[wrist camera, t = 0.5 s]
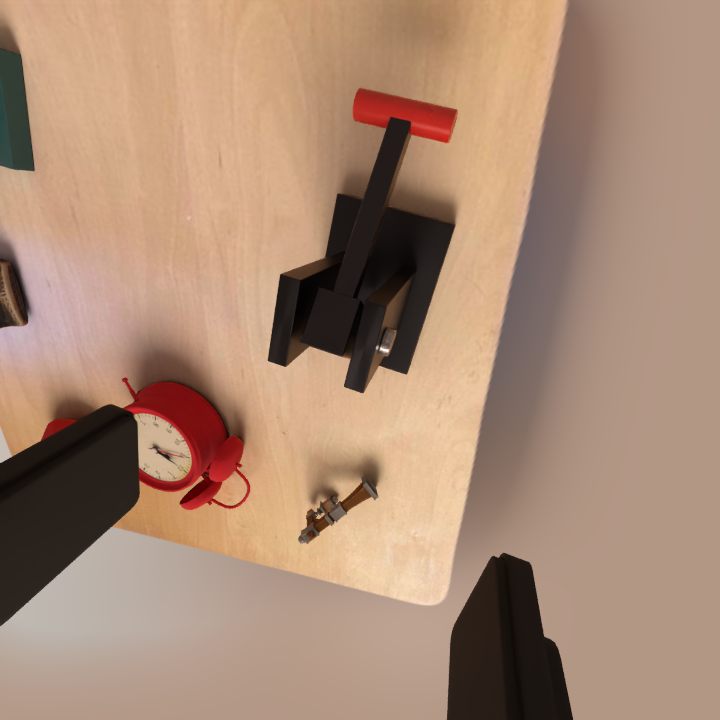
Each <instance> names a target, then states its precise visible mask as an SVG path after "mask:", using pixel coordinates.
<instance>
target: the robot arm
mask: <svg viewBox="0 0 720 720" xmlns="http://www.w3.org/2000/svg"><path fill="white" fill-rule="evenodd" d="M139 494H140V489H139V453H138V423H137V421H136V420H135V417H134V414H133V413H132V412H131V411H128V410H125V409H123V408H120V407H118V406H115V405H112V404H109V405H106V406H103V407H101V408H100V409H98V410H96V411H94V412H92V413H91V414H89V415H87V416H85V417H83V418H82V419H80V420H78V421H76V422H74V423H72V424H71V425H69V426H67V427H65V428H63V429H62V430H60V431H58V432H56V433H54V434H53V435H51V436H49V437H47V438H45V439H43V440H42V441H40V442H38V443H36V444H34V445H33V446H31V447H29V448H27V449H25V450H24V451H22V452H20V453H18V454H16V455H14V456H13V457H11V458H9V459H7V460H5V461H4V462H2V463H0V626H1V625H3V624H4V623H5V622H6V621H7V620H9V619H10V618H11V617H12V616H13V615H14V614H15V613H16V612H17V611H18V610H20V609H21V608H22V607H23V606H24V605H25V604H26V603H27V602H29V600H31V599H32V598H33V597H34V596H35V595H36V594H37V593H39V591H41V590H42V589H43V588H44V587H45V586H46V585H47V584H49V582H51V581H52V580H53V579H54V578H55V577H56V576H57V575H58V574H60V573H61V572H62V571H63V570H64V569H65V568H66V567H67V566H68V565H70V564H71V563H72V562H73V561H74V560H75V559H76V558H77V557H78V556H80V555H81V554H82V553H83V552H84V551H85V550H86V549H87V548H88V547H90V546H91V545H92V544H93V543H94V542H95V541H96V540H97V539H98V538H99V537H101V536H102V535H103V534H104V533H105V532H106V531H107V530H108V529H110V528H111V527H112V526H113V525H114V524H115V523H116V522H117V521H118V520H120V519H121V518H122V517H123V516H124V515H125V514H126V513H127V512H128V511H130V510H131V509H132V508H133V507H134V505H135V504H136V503H137V501H138V498H139ZM447 720H573V716H572V712H571V707H570V702H569V697H568V692H567V687H566V682H565V677H564V672H563V668H562V662H561V657H560V654H559V650H558V648H557V646H556V644H555V642H553V641H552V640H550V639H548V638H546V637H544V634H543V628H542V623H541V616H540V610H539V605H538V599H537V593H536V588H535V581H534V576H533V570H532V566H531V564H530V563H529V562H527V561H524V560H522V559H519V558H516V557H514V556H511V555H508V554H506V553H503V554H501V555H500V557H499V558H497V557H495V556H492V557H491V559H490V560H489V562H488V564H487V566H486V567H485V569H484V571H483V573H482V575H481V577H480V578H479V581H478V582H477V584H476V586H475V588H474V589H473V591H472V593H471V595H470V597H469V599H468V600H467V602H466V604H465V606H464V608H463V610H462V612H461V613H460V615H459V617H458V619H457V621H456V623H455V625H454V627H453V630H452V635H451V643H450V664H449V688H448V711H447Z"/></svg>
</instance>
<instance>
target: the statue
mask: <svg viewBox="0 0 720 720" xmlns="http://www.w3.org/2000/svg"><path fill="white" fill-rule="evenodd" d="M26 324H28V316H27V313H26V311H25V308H24V304H23V300H22V296H21V292H20V289H19V285H18V282H17V279H16V276H15V274H14V271H13V269H12V266H11V264H10V262H9V261H7V260H4V259H0V328H3V327H9V326H24V325H26Z"/></svg>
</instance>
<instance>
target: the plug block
mask: <svg viewBox="0 0 720 720" xmlns="http://www.w3.org/2000/svg"><path fill="white" fill-rule="evenodd" d="M0 166H4V167H7V168H10V169H15V170H27V171H34V164H33V156H32V147H31V139H30V130H29V122H28V113H27V105H26V96H25V88H24V79H23V71H22V62H21V55H19V54H16V53H13V52H10V51H7V50H4V49H1V48H0Z"/></svg>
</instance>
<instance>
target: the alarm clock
mask: <svg viewBox="0 0 720 720" xmlns="http://www.w3.org/2000/svg"><path fill="white" fill-rule="evenodd" d="M122 381H123V382H125V383H126V385H127V387H128V389H129V390H130V393H131V395H132V396H133V398H134V402H133V403H132V404H130V405H128V406H126V407H124V408H123V409H125V410H128V411H131V412H132V413H133V414H134V417H135V420H136V421H137V423H138V453H139V481H141V482H143V483H144V484H146V485H148V486H150V487H152V488H154V489H157V490H161V491H167V492H175V491H180V490H183V489H185V488H187V487H189V486H191V485H192V484H193V483H194V482H195V481H196V480H197V479H198V478H199V477H200V476H202V477H203V478H204V480H202V481H201V482H200V483H198V484H197V485H196V486H195V487H193V488H192V489H191V490H190V491H189V492H188V493H187V494H186V495H185V496H184V497H183V498H182V500H181V501H180V505H181V506H182V507H183V508H184V509H187V510H193V509H196V508H199V507H201V506H202V505H204V504H205V503H208V504H209V505H211V504H212V502H211V501H213V502H214V503H216V504H217V505H220V506H222V507H224V508H228V509H233V508H236V507H238V506H240V505H241V504H242V503H243V502H244V501H245V500H246V499H247V497H248V495H249V493H250V484H249V482H248V480H247V479H246V477H245V476H244V475H243V474H242V473H241V472H240V471H239V470H238V469H237V467H239V468H241V467H242V465H241V464H239V462H240V460H241V457H242V454H243V443H242V441H241V440H240V439H239V438H238V437H235V436H231V437H229V438H228V439H227V435H226V430H225V428H224V425H223V423H222V420H221V418H220V417H219V415H218V414H217V412H216V411H215V409H214V408H213V407H212V406H211V404H210V403H209V402H208V401H206V400H205V399H204V398H203V397H202V396H201V395H199V394H198V393H197V392H195V391H193V390H192V389H190V388H188V387H186V386H183V385H180V384H177V383H172V382H158V383H154V384H152V385H150V386H148V387H146V388H144V389H143V390H142V391H141V390H140V391H141V392H140V391H138V392H137V394H135V392H134V390H132V388H131V386H130V385H129V383H128V382H127V381H128V379H127V378H123V379H122ZM139 392H140V393H139ZM234 471H236V472H237V473H238V474H239V475H240V476H241V477H242V478H243V479H244V481H245V482H246V484H247V493H246V495H245V497H244V498H243V500H242V501H241V502H239V503H238V504H236V505H234V506H227V505H224V504H222V503H220V502H218V501H216V500H215V499H213V497H214V496H215V495H216V494H217V492H218V491H219V489H220V487H221V485H222V481H224V480H226V479H227V478H229V477H230V476H231V475H232V473H233V472H234ZM207 473H209V477H206V476H205V474H207Z"/></svg>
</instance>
